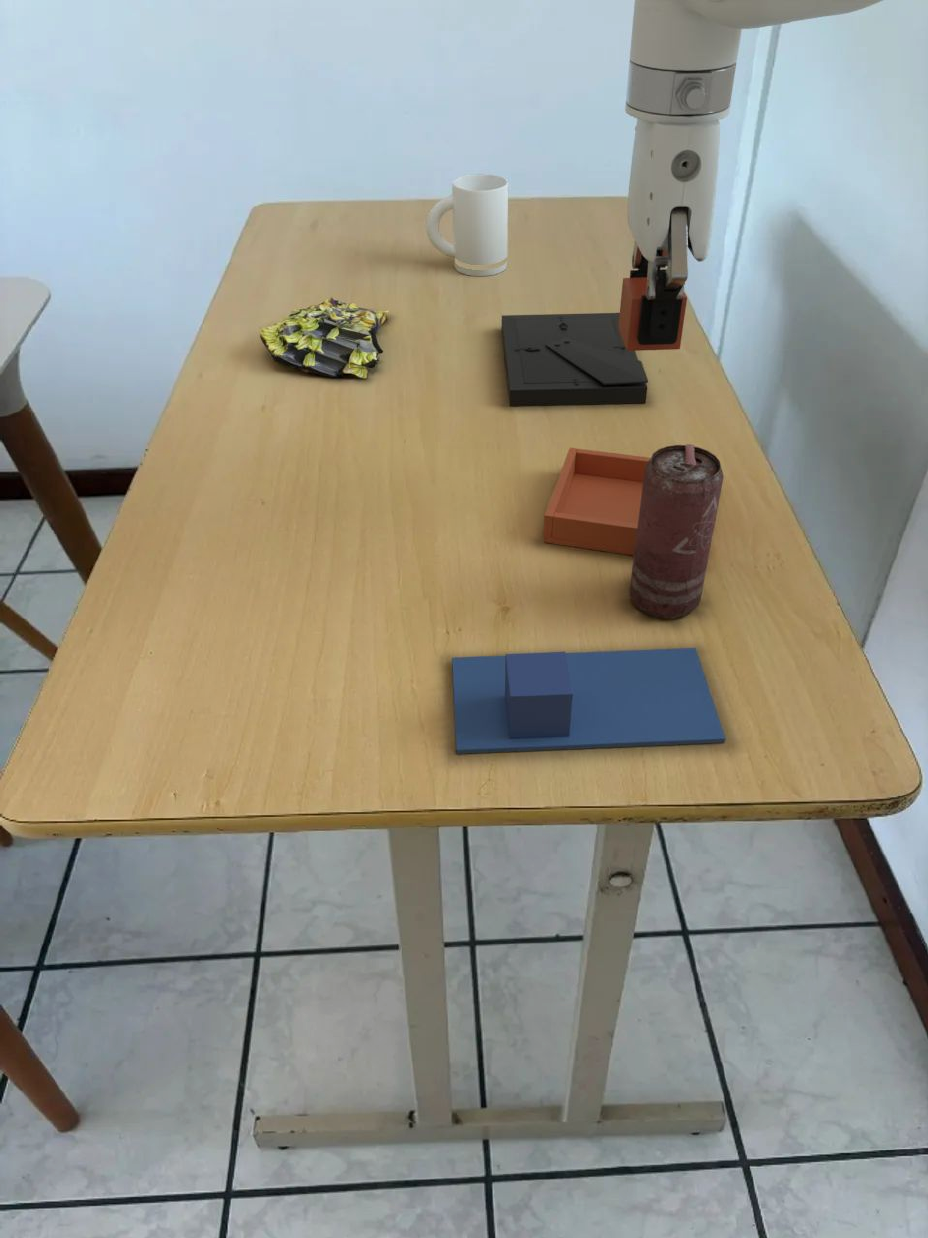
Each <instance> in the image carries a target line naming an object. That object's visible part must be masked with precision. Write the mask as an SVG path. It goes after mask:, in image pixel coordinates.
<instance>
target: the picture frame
mask: <svg viewBox="0 0 928 1238" xmlns="http://www.w3.org/2000/svg"><path fill="white" fill-rule="evenodd" d="M619 315H620V312H598V313H597V312H595V313H594V312H593V313H591V312H589V313H554V314H553V313H552V314H549V313H547V314H545V313H544V314H513V315H512V314H509V315H507V314H506V315H503V314H502V315H501V337H502V339H501V340H502V348H503V356H504V364H505V365H504V366H505V375H506V384H507V394H508V400H509V407H546V406H547V407H549V406H584V405H586V406H588V405H628V404H629V405H632V404H634V405H635V404H646V402H647V393H648V385H647V384H648V383H649V379H648V376H647V374H646V371H645V369H644V365H643V362H642V360H639V359H638V356H637V353H636V351H627V350H626V347H625V344H624V342H623V339H622V337H621V334H620V331H619V329H618V325H619Z"/></svg>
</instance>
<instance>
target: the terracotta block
mask: <svg viewBox="0 0 928 1238" xmlns="http://www.w3.org/2000/svg"><path fill="white" fill-rule="evenodd" d="M657 279H658V277H657ZM646 290H647V277H641V278H630V277H623V278H622V285H621V293H620V305H619V313H620V315H619V325H618V329H619V331H620V334H621V337H622V339H623V342H624V344H625V347H626V350H627V351H635V352H638V351H640V352H641V351H670V350H671V351H672V350H680V349H681V346H682V336H683V330H684V325H685V316H686V310H687V309H686V308H687V303H688V296H687V295H686V292H684V294H683V300H682V307H681V314H680V321H679V328H678V336H677V341H676V342H675V343H674V344H659V345H641V344H639V342H638V340H637V336H638V327H639V318H640V309H641V300H642V295H646Z"/></svg>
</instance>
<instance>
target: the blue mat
mask: <svg viewBox="0 0 928 1238" xmlns="http://www.w3.org/2000/svg"><path fill="white" fill-rule="evenodd" d="M565 653H566V658H567V664H568V670H569V675H570V681H571V686H572V692H573V699H572V711H571V723H570V735H569V736H564V737H540V738H516V739H510V738H509V731H508V722H507V712H506V702H505V657H506V654H505V655H483V656H482V655H481V656H479V655H478V656H457V657H456V656H455V657H452V658H451V664H452V665H451V666H452V667H451V668H452V669H451V670H452V686H453V687H452V688H453V689H452V690H453V708H454V709H453V710H454V731H455V732H454V733H455V749H456V750H455V751H456V754H457V755H462V754H463V755H464V754H487V753H489V754H490V753H509V752H510V753H513V752H514V753H515V752H536V751H537V752H538V751H555V750H556V751H558V750H559V751H561V750H578V749H579V750H582V749H583V750H585V749H605V748H607V749H608V748H629V747H655V746H676V745H677V746H678V745H700V744H723V743H726V740H727V739H726V736H725V732H724V730H723V729H724V728H723V727H722V723H721V721H720V717H719V714H718V711H717V708H716V705H715V702H714V699H713V696H712V694H711V690H710V687H709V685H708V681H707V679H706V674H705V673H704V670H703V669H704V668H703V666H702V663H701V661H700V658H699V655H698V652H697V648H696V647H682V648H681V647H680V648H658V649H655V648H654V649H633V650H632V649H631V650H607V651H605V650H604V651H583V652H581V651H580V652H565Z"/></svg>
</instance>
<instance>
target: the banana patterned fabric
mask: <svg viewBox="0 0 928 1238" xmlns="http://www.w3.org/2000/svg"><path fill="white" fill-rule="evenodd" d="M389 312H390V310H389V309H387V310H375V309H369V308H364V307H359V306H357V305H356V304H355V302H354V301H353V302H350V303H346V302H344V301H342V300H340V299H338V300H335V299H334V298H333V296H331V297H329V298H325V300H323V301H322V302H321V303H319V304H317V305H315V304H311V305H310V306H309V307H304V308H302V309H292V310H291V312H290V314H289V316H286V317H284V318H283V319H282V320H281V321H277V322H275V323H274V324H273V325H272V326H267V327H266V328H263V327H260V330H261V332H260V333H259V339H260V341H261V343H262V344H263V346H264V347H265V348H266V350H267V351H268V353H269V355H270V357H271V358H272V360H273V361H274V363H275V364H280V365H284V366H286V367H290V368H292V369H293V368H294V369H297V370H300V371H302V372H304V373H311V374H314V375H319V376H323V377H328V378H338V377H339V378H340V377H344V374H350V375H353V376H356V377H358V378H361V379H367V378H368V375H369V373H368V368H369V369H375V367H376V366H377V365H378V362H379V361H380V359H378V355H380V354H383V353H384V350H383V349H382V348H381V346H380V344H379V342H378V337H377V331H378V329H379V328H381V326H382V325H383V324H384V323H385V322H386V321H387V320H388V318H389V316H388V313H389Z"/></svg>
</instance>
